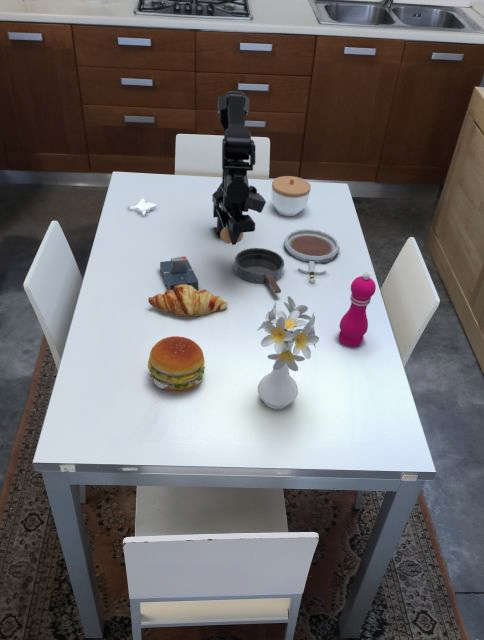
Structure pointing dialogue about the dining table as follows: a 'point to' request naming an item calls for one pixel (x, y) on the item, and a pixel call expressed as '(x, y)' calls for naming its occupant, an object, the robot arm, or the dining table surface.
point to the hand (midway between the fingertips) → (231, 240)
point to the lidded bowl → (290, 194)
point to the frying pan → (311, 248)
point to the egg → (226, 238)
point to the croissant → (187, 301)
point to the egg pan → (258, 265)
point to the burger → (176, 363)
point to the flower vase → (285, 352)
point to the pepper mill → (357, 311)
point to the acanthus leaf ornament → (143, 207)
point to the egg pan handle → (272, 283)
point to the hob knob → (179, 264)
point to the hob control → (178, 276)
